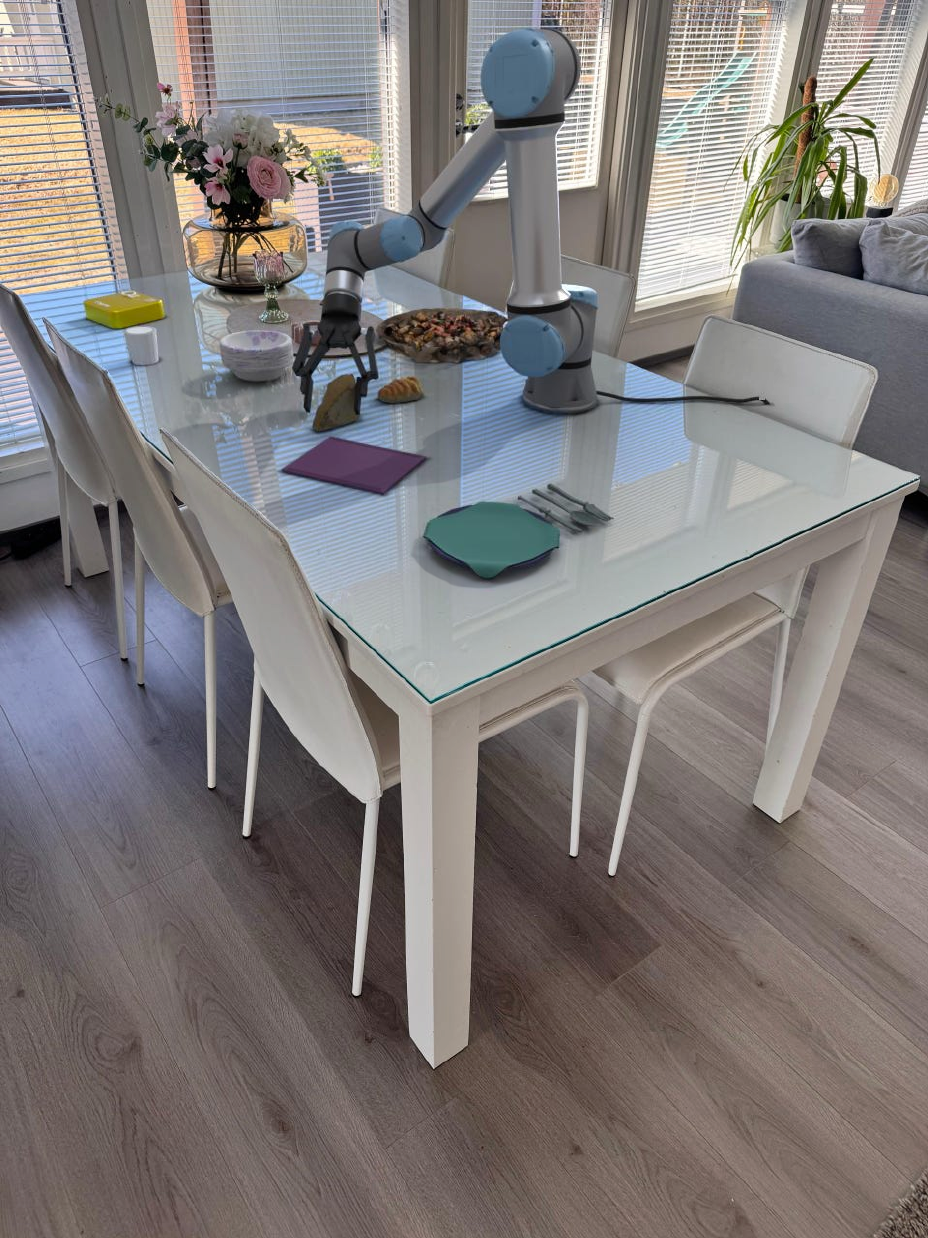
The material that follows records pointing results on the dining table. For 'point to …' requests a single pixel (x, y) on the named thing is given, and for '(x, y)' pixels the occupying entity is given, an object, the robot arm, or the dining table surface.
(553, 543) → the cutlery set
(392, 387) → the pastry
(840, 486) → the dining table surface
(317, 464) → the cloth
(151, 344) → the white cylinder
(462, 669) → the dining table surface
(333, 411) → the rock
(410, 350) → the food dish
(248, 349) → the paper bowls
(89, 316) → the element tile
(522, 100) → the robot arm
